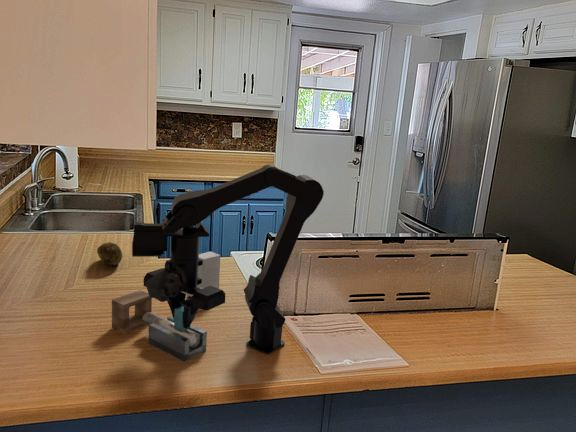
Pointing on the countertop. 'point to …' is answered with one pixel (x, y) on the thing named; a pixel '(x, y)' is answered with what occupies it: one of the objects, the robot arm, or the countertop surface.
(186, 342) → the channel
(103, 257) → the potato
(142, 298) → the socket block
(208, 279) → the skincare box
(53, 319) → the countertop surface
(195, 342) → the rod
